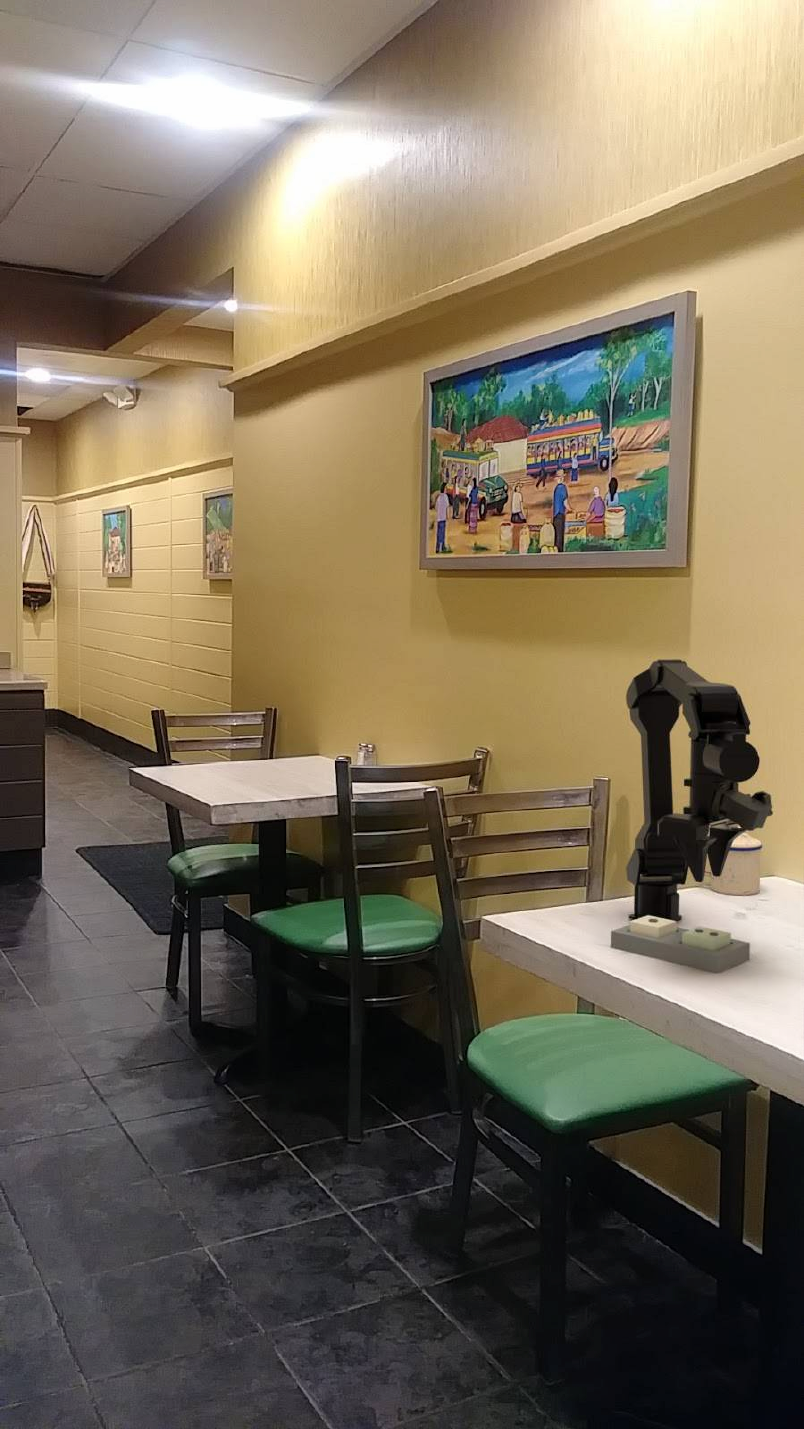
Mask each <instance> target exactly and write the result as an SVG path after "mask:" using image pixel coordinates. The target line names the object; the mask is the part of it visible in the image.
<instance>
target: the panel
mask: <svg viewBox="0 0 804 1429" xmlns="http://www.w3.org/2000/svg"><path fill="white" fill-rule="evenodd" d="M689 930H690V929H687V928H684V927H678V926H677V927H676V933H673V934H671V935H668V936H665V937H662V938H660V939H658V938H654V937H650V936H645V935H641V934H637V933H632V932H630V924H628V925H625V926H623V927H619V928H616V929H612V930H610V948H612V949H617V950H620V951H625V952H629V953H632V954H637V955H642V956H645V957H650V958H654V959H658V960H661V961H666V962H668V963H669V962H671V963H674V964H679V965H682V966H688V967H691V968H695V969H699V970H703V971H707V972H712V973H715V974H720V973H722V972H724V971H726V970H729V969H731V968H733V967H736V966H738V965H740V964H742V963H745V962H747V961H750V948H751V947H750V945H751V944H750V942H747V941H742V940H739V939H733V938H731V940H730V945H728V946H726V947H723V948H721V949H718V950H716V951H711V950H706V949H702V948H698V947H693V946H689V945H685V944H682V933H683V932H686V931H689Z"/></svg>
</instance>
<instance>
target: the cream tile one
mask: <svg viewBox="0 0 804 1429" xmlns="http://www.w3.org/2000/svg"><path fill="white" fill-rule="evenodd" d="M677 921H678V920H676V921H673V920H668V919H664V918H659V917H654V916H649V915H647V916H644V917H641V918H638V919H635V920H633V919H632V920H629V925H630V932H632V933H637V934H641V935H645V936H650V937H654V938H658V939H660V938H662V937H665V936H668V935H671V934H673V933H676V927H678V926H677V925H678V924H677Z"/></svg>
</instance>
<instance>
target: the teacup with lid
mask: <svg viewBox="0 0 804 1429" xmlns="http://www.w3.org/2000/svg"><path fill="white" fill-rule="evenodd" d="M738 828H741V827H740V826H738ZM762 848H763V845H762V841H760V840H759V839H757V838H755V837H752V836H750V835H749V834H748V833H746V832H744V833H742V834H741V835H739V836H738V837H737V838H736V839H734V841H733V843H732V845H731V847H730V850H729V853H728V856H727V859H726V862H725V865H724V867H723V870H722V873H721V876H719V877H716V876H713V874H712V871H711V870H710V871H706V870H705V874H704V877H710V889H712V891H713V892H715V893H718V894H724V895H731V896H751V895H755V894H758V893H759V892H760V891H761V890H760V888H761V887H760V886H761V853H762Z"/></svg>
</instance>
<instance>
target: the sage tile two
mask: <svg viewBox="0 0 804 1429" xmlns="http://www.w3.org/2000/svg"><path fill="white" fill-rule="evenodd" d="M688 930H689V931H686V932H683V933H682V944H685V945H689V946H693V947H698V948H702V949H706V950H711V951H716V950H718V949H721V948H723V947H726V946H728V945H730V940H731V939H732V938H731V937H732V936H731V932H728V931H724V930H719V929H715V928H709V927H705V926H698V927H694V928H692V929H688Z"/></svg>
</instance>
